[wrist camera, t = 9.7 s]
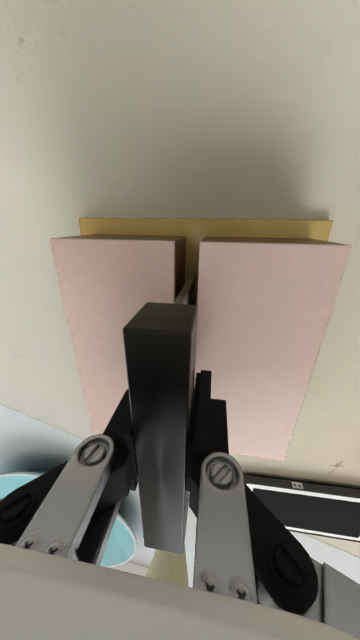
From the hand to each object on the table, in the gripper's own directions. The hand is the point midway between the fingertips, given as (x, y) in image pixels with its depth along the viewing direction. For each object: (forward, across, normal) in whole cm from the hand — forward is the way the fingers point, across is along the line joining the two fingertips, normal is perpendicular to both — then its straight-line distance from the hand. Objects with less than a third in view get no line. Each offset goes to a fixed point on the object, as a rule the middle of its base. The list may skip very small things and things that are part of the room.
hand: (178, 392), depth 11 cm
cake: (+7, 0, 0) cm, 7 cm away
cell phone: (+7, -13, +20) cm, 25 cm away
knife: (+6, 0, 0) cm, 6 cm away
